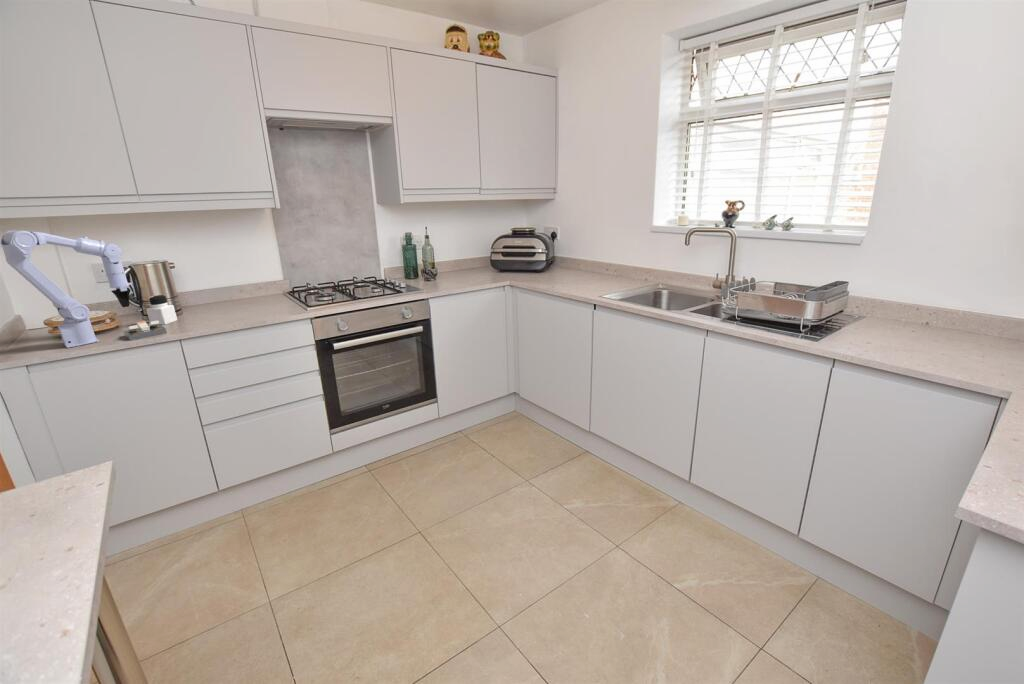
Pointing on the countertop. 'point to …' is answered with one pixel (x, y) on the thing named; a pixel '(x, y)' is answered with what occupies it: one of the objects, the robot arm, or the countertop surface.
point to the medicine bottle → (161, 310)
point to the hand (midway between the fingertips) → (125, 306)
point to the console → (144, 332)
